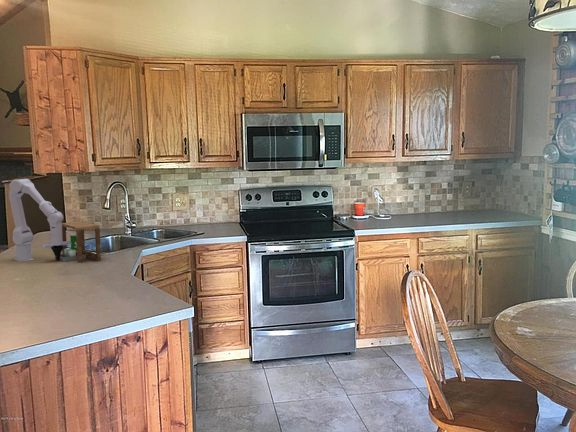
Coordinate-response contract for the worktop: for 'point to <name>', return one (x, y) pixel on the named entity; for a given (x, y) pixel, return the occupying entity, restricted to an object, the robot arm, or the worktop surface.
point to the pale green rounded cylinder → (66, 252)
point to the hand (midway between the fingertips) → (57, 259)
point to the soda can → (73, 241)
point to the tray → (62, 257)
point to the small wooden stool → (80, 239)
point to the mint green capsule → (72, 253)
